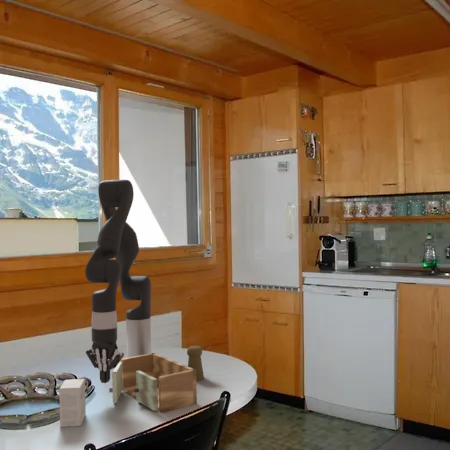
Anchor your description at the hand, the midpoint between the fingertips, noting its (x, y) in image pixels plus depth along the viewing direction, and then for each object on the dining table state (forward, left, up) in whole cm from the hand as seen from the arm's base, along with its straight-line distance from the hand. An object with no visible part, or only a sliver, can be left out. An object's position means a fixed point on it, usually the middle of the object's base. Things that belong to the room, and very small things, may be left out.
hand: (105, 382), depth 161 cm
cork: (-2, +34, -6) cm, 34 cm away
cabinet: (+6, +13, -6) cm, 16 cm away
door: (-2, +4, -5) cm, 7 cm away
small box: (+9, -13, -6) cm, 17 cm away
